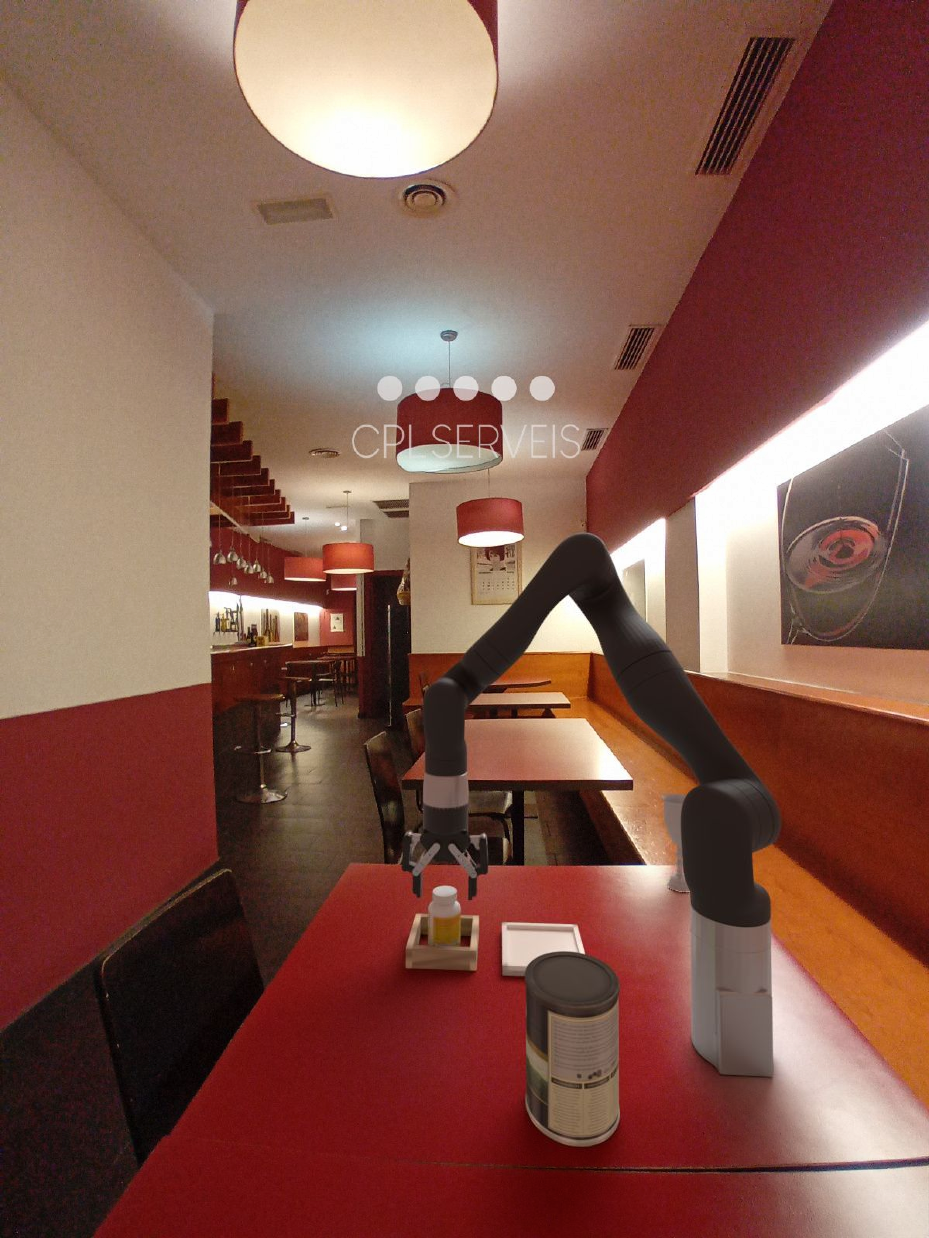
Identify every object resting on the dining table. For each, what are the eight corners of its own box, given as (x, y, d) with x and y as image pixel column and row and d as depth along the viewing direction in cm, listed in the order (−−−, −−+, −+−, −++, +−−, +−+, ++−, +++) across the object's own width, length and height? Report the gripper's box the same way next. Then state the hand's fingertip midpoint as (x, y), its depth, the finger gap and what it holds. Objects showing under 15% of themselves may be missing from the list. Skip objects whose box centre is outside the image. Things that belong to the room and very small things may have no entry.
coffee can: (506, 1111, 62) (506, 980, 62) (555, 1057, 70) (554, 940, 70) (593, 1168, 55) (592, 1020, 56) (636, 1101, 63) (635, 972, 64)
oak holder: (476, 970, 88) (476, 950, 88) (405, 967, 88) (405, 948, 88) (478, 933, 99) (478, 915, 99) (416, 930, 99) (416, 913, 99)
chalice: (703, 895, 113) (702, 804, 113) (669, 895, 113) (668, 803, 114) (689, 879, 120) (689, 793, 121) (657, 879, 120) (656, 793, 121)
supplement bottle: (421, 948, 94) (421, 889, 94) (447, 937, 97) (447, 880, 98) (441, 962, 90) (441, 901, 90) (467, 950, 93) (467, 891, 93)
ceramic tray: (588, 978, 86) (588, 968, 86) (502, 975, 86) (502, 965, 86) (577, 933, 99) (577, 924, 99) (502, 930, 99) (502, 922, 99)
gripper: (399, 804, 91) (398, 906, 91) (488, 807, 90) (487, 910, 90) (407, 791, 99) (406, 885, 98) (489, 793, 98) (488, 888, 97)
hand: (445, 896), depth 94 cm, fingers open, 8 cm apart
